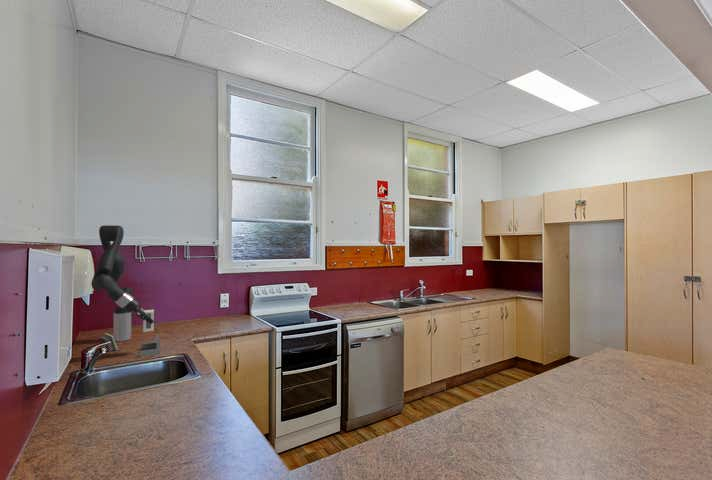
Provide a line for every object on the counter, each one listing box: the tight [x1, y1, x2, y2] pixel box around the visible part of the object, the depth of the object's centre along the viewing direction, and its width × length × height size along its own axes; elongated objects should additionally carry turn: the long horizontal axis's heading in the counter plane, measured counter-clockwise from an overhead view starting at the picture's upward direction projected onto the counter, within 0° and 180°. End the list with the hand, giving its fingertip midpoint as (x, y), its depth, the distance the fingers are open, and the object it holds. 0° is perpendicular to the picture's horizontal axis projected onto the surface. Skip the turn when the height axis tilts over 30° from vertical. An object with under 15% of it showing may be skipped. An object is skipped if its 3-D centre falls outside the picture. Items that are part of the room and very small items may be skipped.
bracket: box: [139, 332, 161, 358], centre depth 196 cm, size 14×9×8 cm, turn 31°
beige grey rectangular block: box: [142, 309, 155, 333], centre depth 195 cm, size 5×5×11 cm
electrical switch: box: [99, 333, 119, 352], centre depth 197 cm, size 9×5×9 cm, turn 57°
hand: (152, 321), depth 196 cm, fingers closed on beige grey rectangular block, 5 cm apart
